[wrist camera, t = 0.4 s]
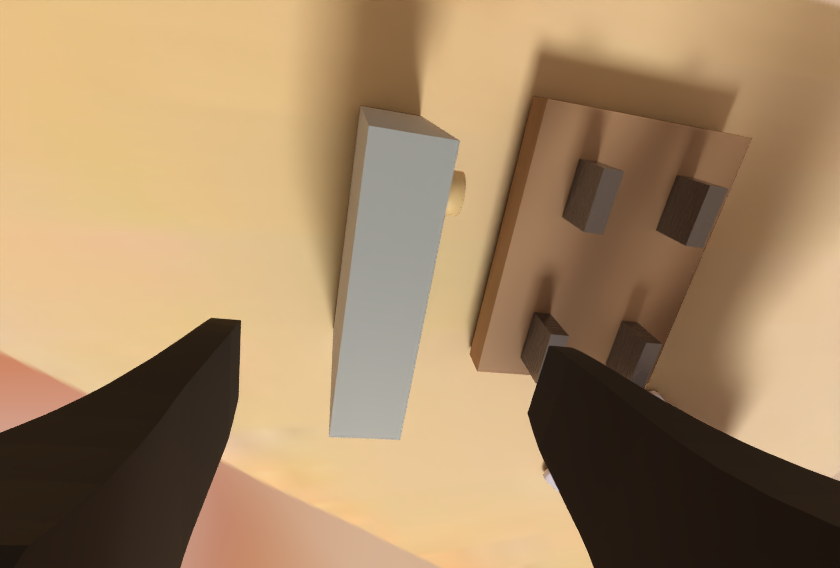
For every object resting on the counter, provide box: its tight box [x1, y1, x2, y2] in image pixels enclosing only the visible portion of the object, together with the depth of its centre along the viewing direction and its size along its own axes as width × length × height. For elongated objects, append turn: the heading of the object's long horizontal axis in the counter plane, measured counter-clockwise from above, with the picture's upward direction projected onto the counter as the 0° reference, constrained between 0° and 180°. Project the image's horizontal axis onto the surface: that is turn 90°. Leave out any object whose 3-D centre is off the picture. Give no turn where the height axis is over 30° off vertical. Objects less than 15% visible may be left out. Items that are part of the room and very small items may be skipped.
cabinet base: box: [470, 97, 752, 383], centre depth 22 cm, size 9×12×2 cm
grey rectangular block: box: [329, 106, 466, 440], centre depth 18 cm, size 3×10×7 cm, turn 170°
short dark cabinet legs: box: [520, 158, 728, 389], centre depth 20 cm, size 5×9×2 cm, turn 170°
